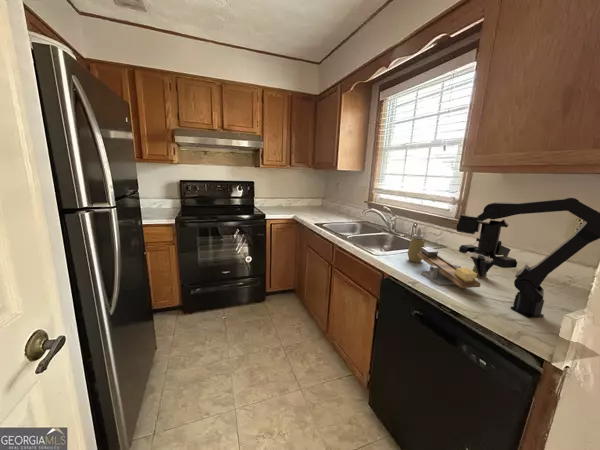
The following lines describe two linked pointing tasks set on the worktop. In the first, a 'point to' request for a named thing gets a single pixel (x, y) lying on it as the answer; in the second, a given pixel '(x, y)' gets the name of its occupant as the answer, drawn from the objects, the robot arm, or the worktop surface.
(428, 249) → the counterweight
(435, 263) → the balance beam
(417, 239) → the squeeze bottle
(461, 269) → the block
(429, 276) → the pivot stand
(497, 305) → the worktop surface
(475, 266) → the cork
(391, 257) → the worktop surface
